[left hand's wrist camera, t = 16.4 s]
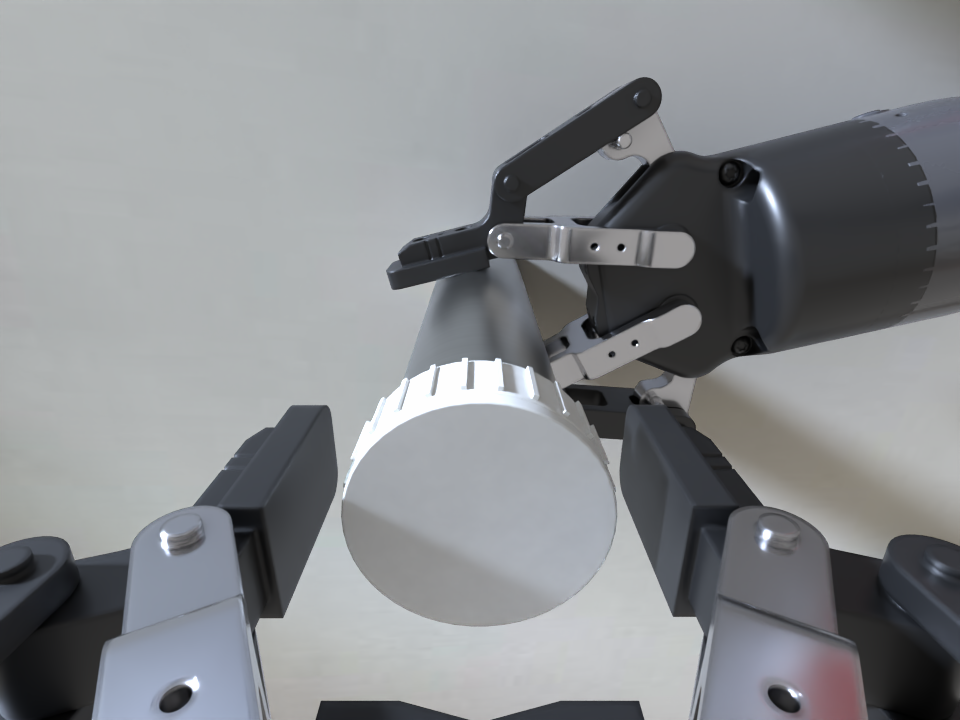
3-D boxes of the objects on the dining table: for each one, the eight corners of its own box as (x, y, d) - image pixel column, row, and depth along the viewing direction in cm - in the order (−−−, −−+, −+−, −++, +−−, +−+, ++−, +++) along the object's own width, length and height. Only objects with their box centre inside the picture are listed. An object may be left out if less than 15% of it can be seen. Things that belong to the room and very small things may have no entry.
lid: (323, 511, 11) (296, 575, 9) (417, 312, 9) (403, 346, 8) (528, 590, 12) (535, 661, 10) (646, 418, 10) (678, 470, 9)
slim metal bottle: (450, 228, 25) (394, 379, 9) (531, 251, 26) (625, 438, 9) (430, 306, 27) (348, 565, 10) (506, 327, 27) (548, 608, 10)
